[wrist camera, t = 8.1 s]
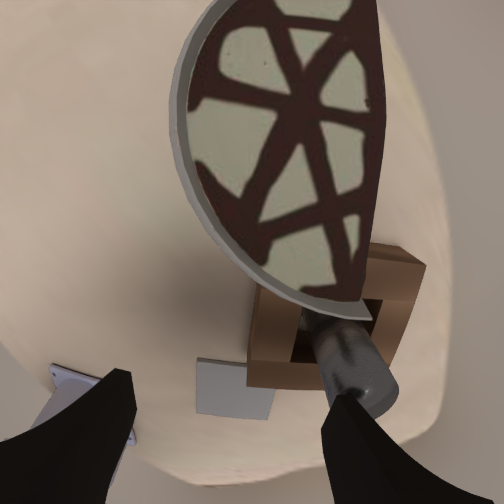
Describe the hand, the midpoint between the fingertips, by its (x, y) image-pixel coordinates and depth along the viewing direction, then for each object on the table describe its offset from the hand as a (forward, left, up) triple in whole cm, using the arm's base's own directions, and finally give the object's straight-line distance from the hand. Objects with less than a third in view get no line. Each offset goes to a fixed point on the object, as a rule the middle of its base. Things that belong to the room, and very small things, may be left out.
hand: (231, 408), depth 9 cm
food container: (+10, 0, -10) cm, 14 cm away
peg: (0, -5, -10) cm, 11 cm away
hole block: (0, -5, -10) cm, 11 cm away
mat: (-9, 0, -10) cm, 13 cm away
